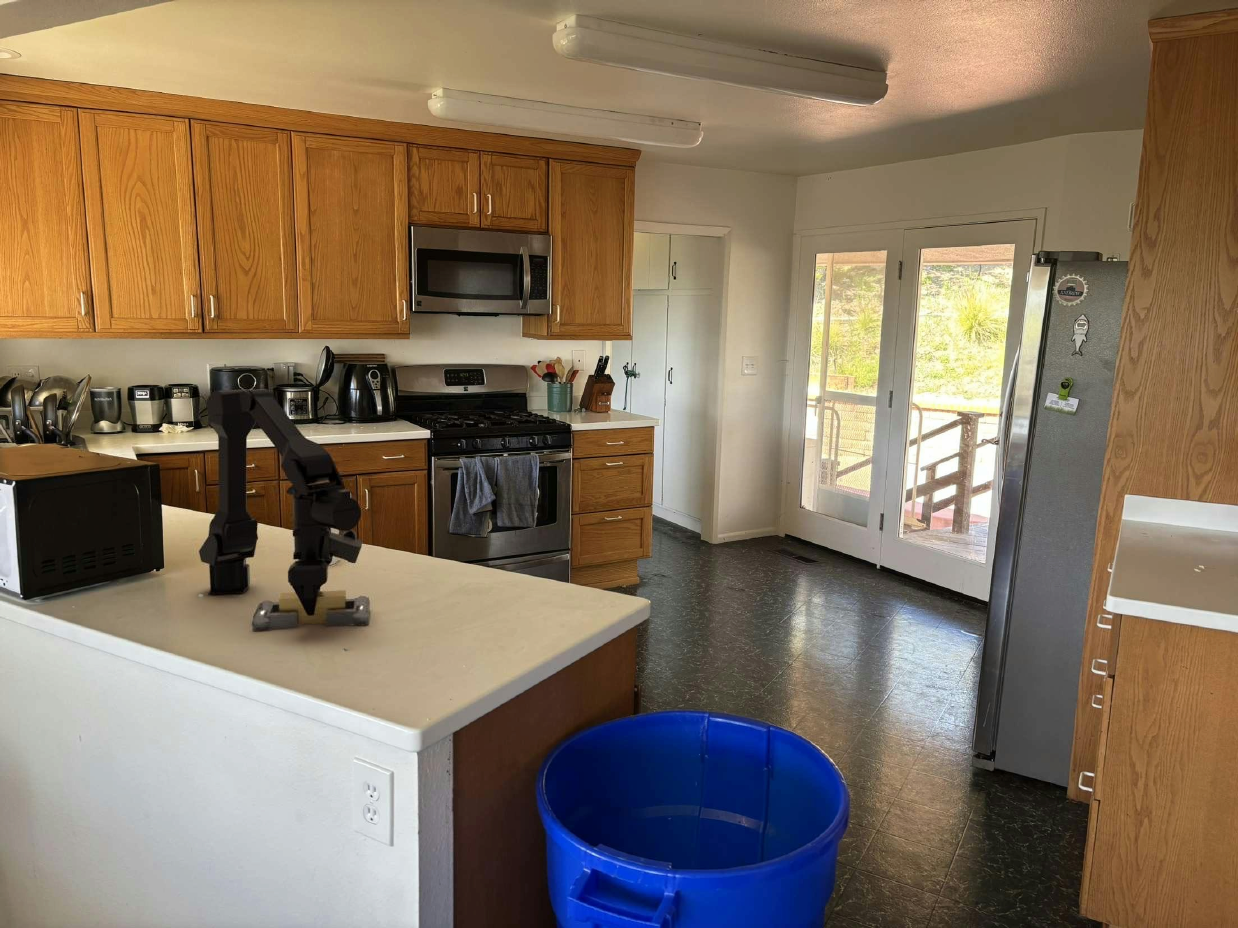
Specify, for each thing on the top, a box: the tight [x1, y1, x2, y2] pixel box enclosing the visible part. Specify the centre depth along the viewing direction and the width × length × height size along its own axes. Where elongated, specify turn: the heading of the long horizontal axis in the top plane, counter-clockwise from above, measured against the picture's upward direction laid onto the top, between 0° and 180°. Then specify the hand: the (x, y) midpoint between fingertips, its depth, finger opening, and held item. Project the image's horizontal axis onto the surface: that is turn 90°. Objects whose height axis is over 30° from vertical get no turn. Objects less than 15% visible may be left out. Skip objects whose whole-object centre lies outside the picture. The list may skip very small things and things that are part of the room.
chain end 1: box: [251, 599, 298, 632], centre depth 154 cm, size 7×8×3 cm
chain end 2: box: [326, 595, 371, 627], centre depth 157 cm, size 7×8×3 cm
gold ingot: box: [278, 589, 347, 625], centre depth 155 cm, size 11×3×5 cm, turn 104°
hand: (313, 606), depth 155 cm, fingers open, 9 cm apart
